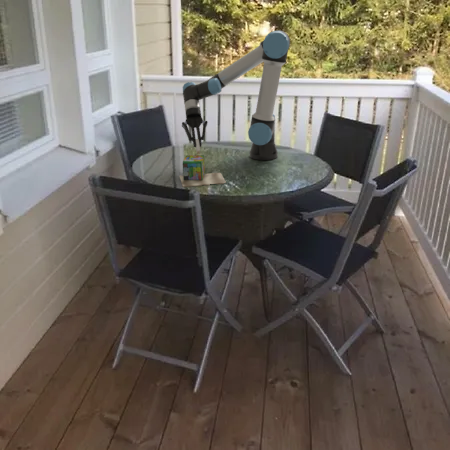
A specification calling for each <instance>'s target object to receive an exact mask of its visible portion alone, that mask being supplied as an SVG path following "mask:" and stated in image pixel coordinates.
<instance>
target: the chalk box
mask: <svg viewBox="0 0 450 450" xmlns="http://www.w3.org/2000/svg"><path fill="white" fill-rule="evenodd" d="M182 174H183V178H184V180H202V179H203V177H204V174H206V165H205V155H201V154H195V155H192V154H191V155H185V156H184V159H183V161H182Z"/></svg>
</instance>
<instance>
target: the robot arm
mask: <svg viewBox="0 0 450 450" xmlns="http://www.w3.org/2000/svg"><path fill="white" fill-rule="evenodd" d="M290 46H291V38H290V36H289V34H288V33H287V32H285V31H284V30H281V29H276V30H273V31H271V32H269V33H268V34H266V36H265V37H264V39H263V40H262V41H260V43H259V45H258V46H257V47H255V48H254V49H253V50H251V51H249V52H248V53H246V54H245V55H243V56H241V57H240V58H239V59H237V60H235V61H234V62H233V63H231V64H230V65H228V66H226V67H225V68H224V69H223V70H221V71H219V72H218V73H217V74H215V75H213V76H212V77H210V78H209V79H207V80H205V81H203V82H200V83H197V84H196V83H195V82H194V81H187V82H185V83H184V84H183V85H182V96H183V104H184V110H185V121H182V123H181V127H182V128H183V129H184V132H185V134H186V137H187V139H188V141H190V142H193V143H192V144H193V145H192V146H193V147H194V148H196V149H195V151H196V155H201V147H202V145H203V143H202V141H204V140H205V137H206V136H205V133H206V128H207V126H208V123H209V122H208V120H204V119H203V118H202V112H201V106H200V100H203V99H206V98H209V97H213V96H216V95H218V94H219V93H221V92H222V89H224V88H225V87H226V86H228V85H230V84H231V83H232V82H234V81H235V80H238V79H239V78H240V77H242V76H243V75H245V74H247V73H248V72H250V71H251V70H253V69H255V68H256V67H258V66H260V64H263V68H262V74H261V80H260V86H259V91H258V92H259V93H258V97H257V102H256V108H255V109H256V110H255V112H254V113H253V114H251V121H250V126H249V128H248V132H247V135H248V139H249V140H250V141H251V147H250V150H249V158H250V159H253V160H256V161H257V160H259V161H270V160H274V159H277V158H278V156H279V155H278V150H277V147H276V142H275V139H276V138H275V131H276V129H275V128H276V127H275V126H276V118H275V117H276V115H275V114H274V110H275V104H276V100H277V99H276V98H277V94H278V88H279V83H280V78H281V73H282V67H283V66H284V65H285V64H286V63H287V58H288V54H289V53H288V52H289V49H290ZM201 125H202V133H201V130H200V129H201V128H200V127H201ZM189 128H190V130H191V133H190V130H189ZM195 129H196V131H195ZM195 133H196V134H197V138H196V134H195Z"/></svg>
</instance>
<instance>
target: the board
mask: <svg viewBox="0 0 450 450" xmlns="http://www.w3.org/2000/svg"><path fill="white" fill-rule="evenodd" d="M179 179H180V182H181V185H182V188H187V187H188V188H191V187H200V186H201V187H203V186H202V185H204V186H211V185H210V184H217V185H225V184H224V183H226V184H227V181H226V180H225V178H224V176H223V174H222V173H221V172H212V173H211V172H210V173H205V174H204V177H203V179H202V180H184V178H183V175H181V174H180V175H179Z"/></svg>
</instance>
